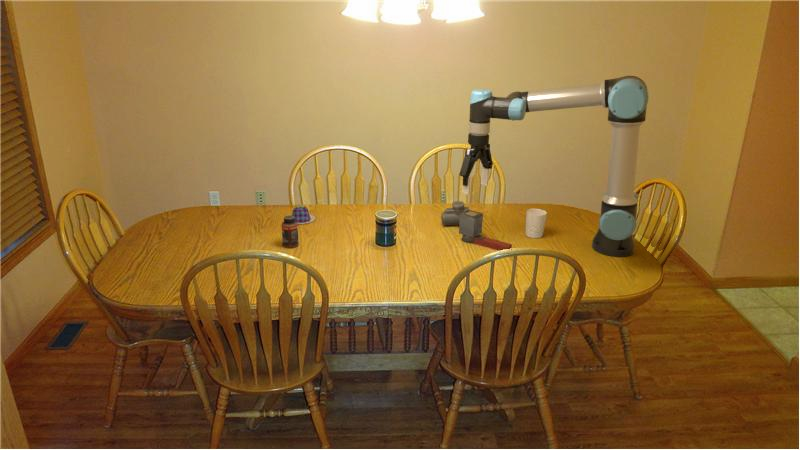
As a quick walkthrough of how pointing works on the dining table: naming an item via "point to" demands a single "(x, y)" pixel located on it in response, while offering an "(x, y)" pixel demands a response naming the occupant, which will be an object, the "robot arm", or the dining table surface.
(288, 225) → the supplement bottle
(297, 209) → the purple plaid hat
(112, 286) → the dining table surface
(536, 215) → the white cup
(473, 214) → the dark metal cube
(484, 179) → the robot arm
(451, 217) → the pipe fitting
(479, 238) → the ratchet
